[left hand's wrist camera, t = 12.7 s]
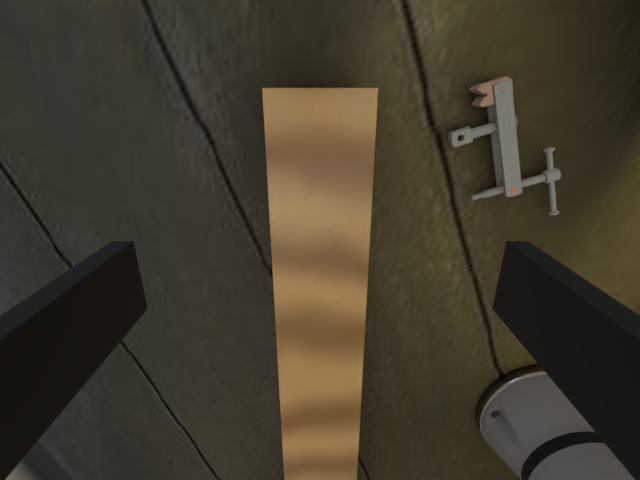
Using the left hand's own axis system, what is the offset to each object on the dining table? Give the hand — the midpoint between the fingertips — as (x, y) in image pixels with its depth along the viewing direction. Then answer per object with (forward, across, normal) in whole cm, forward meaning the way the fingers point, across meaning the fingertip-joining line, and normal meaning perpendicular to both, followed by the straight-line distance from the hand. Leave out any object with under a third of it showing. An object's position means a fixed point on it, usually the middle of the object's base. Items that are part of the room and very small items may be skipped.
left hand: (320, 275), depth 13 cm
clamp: (+26, +19, +1) cm, 32 cm away
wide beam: (+26, 0, -27) cm, 37 cm away
